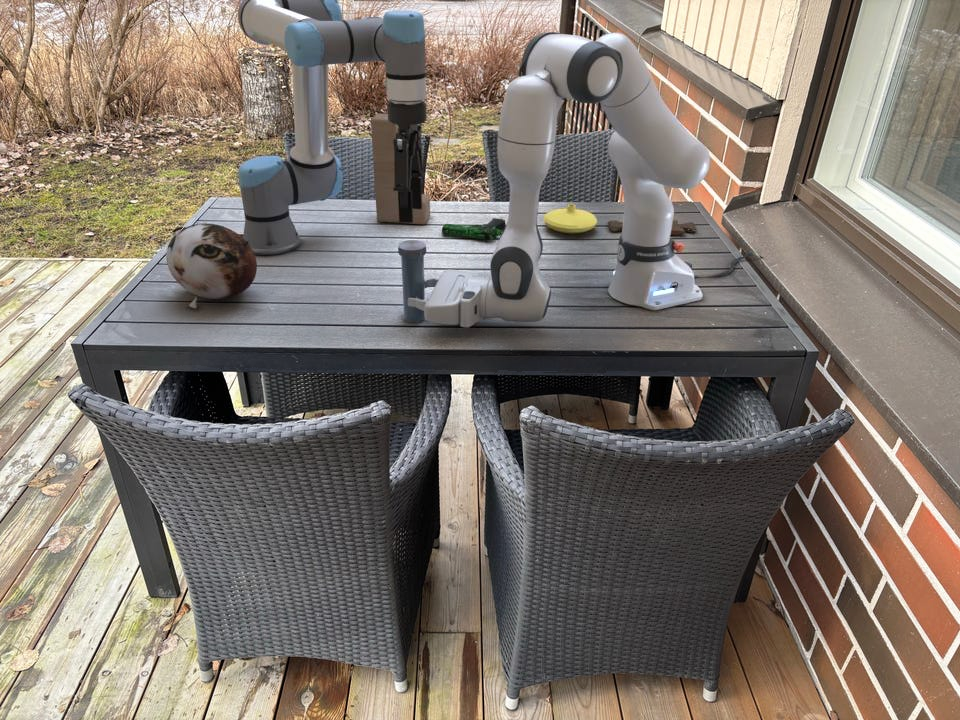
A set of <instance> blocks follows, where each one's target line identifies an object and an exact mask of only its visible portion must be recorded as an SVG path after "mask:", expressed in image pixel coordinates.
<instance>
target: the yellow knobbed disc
mask: <svg viewBox="0 0 960 720" xmlns="http://www.w3.org/2000/svg"><path fill="white" fill-rule="evenodd" d="M543 222H544V225H545V226H546V227H548V228H550V229H551V230H554V231H556V232H559V233H564V234H580V233H584V232H585V233H586V232H587V231H591V230H592V229H594V228H596V226H597V223H598V219H597V217H596V215H595V214H593V213H591V212H589V211H587V210H584V209H578V208H576V205H575V204H571V203H570V204H567V208H557V209H552V210H549V211H548V212H547V213H545V214H544V216H543Z"/></svg>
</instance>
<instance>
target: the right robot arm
mask: <svg viewBox="0 0 960 720" xmlns="http://www.w3.org/2000/svg"><path fill="white" fill-rule="evenodd" d="M564 99H566V100H571V101H576V102H578V103H580V104H587V105H588V104H591V105H592V104H597V103H599V104H600V105H601V108H602V109H603V112H604V113H605V115H606V118H607V119H608V121H609V123H610V125H611V127H612V128H613V130H614V131H613V133H612V135H611V136H610V139H609V142H608V147H607V152H608V157H609V159H610V161H611V163H612V164H613V165H614V167H615V169H616V171H617V174H618V177H619V181H620V184H621V188H622V193H623V194H622V195H623V217H622V223H623V228H622V231H621V234H620V236H619V238H618V239H619V240H618V245H617V254H616V255H617V257H616V259H617V262H616V264H615V265H616V266H615V269H614V271H613V274H612V275H613V276H612V279H611V281H610V284H609V286H608V289H607V293H608V294H609V296H611V297H612V299H615V301H618V302H620V303H623V304H626V305H631V306H636V307H640V308H641V307H642V308H644V309H646V310H650V311H659V310H663V309H667V308H671V307H677V306H680V305H686V304H689V303H694V302H697V301H702V300H703V292H702V289H701V288H700V287H699V286H698V285H697V284H696V283H695V279H716V278H720V277H724V276H726V275H729V274H731V273H732V272H733V271H734V268H735V264H736V263H738V262H739V261H742V260H744V259H746V258H748V257H752V256H754V255H753V254H752V253H753V252H750V253H747V254H744V255H742V256H743V257H741V256H739V257H737V258H735V259H734V260H733V261H732V262H731V265H730V269H728V270H726V271H723V272H720V273H717V274H714V275H709V276H697V275H695V273H694V271H693V264H692V263H690V262H688V261H685V260H683V259H682V258H680V257H679V256H678V255H677V254H676V253H678V254H681V253H683V251H684V250H685V245H684V244H683V243H681V242H680V241H677V242H676V240H674V239H673V238H671V235H672V234H671V229H672V222H673V220H674V215H675V208H674V204H673V202H672V201H671V199H670V197H669V196H668V194H667V192H666V190H665V187H667V188H671V189H679V190H680V189H681V190H683V189H684V190H690V189H694V188H695V187H697V186H698V185H699V184H701V182H702V181H703V180H704V179H705V177H706V176H707V174H708V172H709V169H710V164H711V156H710V151H709V148H707V146H706V145H705V144H703V143H702V142H701V141H699V140H697V138H695V136H693V135H692V134H691V133H690V132H689V131H688V130H687V128H686V127H684V125H683V124H682V123H681V122H680V121H679V119H678V118H677V117H676V116H675V114H674V113H673V112H672V110H670V108H669V107H668V106H667V104H666V103H665V101H664V99H663V98H662V96H661V94H660V92H659V90H658V87H657V85H656V83H655V81H654V78H653V76H652V74H651V72H650V70H649V68H648V65H647V64H646V62H645V60H644V58H643V57H642V54H641V53H640V52H639V50H638V49H637V47H636V46H635V45H634V43H633V41H632V40H631V39H630V38H629V37H628V36H627V35H625V34H624V33H621V32H609V33H606V34H603V35H602V36H600V37H599V38H596V40H592V39H590V38H587V37H584V36H580V35H577V34H567V33H566V34H565V33H559V32H556V31H548V32H543V33H539V34H537V35H535V36H534V37H532V39H530V41H529V42H528V43H527V45H526V47H525V49H524V51H523V54H522V56H521V62H520V66H519V69H518V77H516V78H514V79H513V80H511V82H510V83H509V84H508V85H507V88H506V89H505V94H504V97H503V101H502V105H501V111H500V116H499V123H498V129H497V130H498V131H497V143H496V152H497V163H498V164H497V165H498V171H499V172H500V174H501V175H502V176H503V177H504V178H505V179H506V180H507V182H508V186H509V202H508V214H507V222H506V225H505V228H504V229H503V230H502V231H501V235H500V236H499V237H498V241H497V245H496V247H495V248H494V251H493V253H492V256H491V258H490V263H489V268H490V276H491V277H479V276H475V274H474V273H472V272H468V271H465V270H464V271H463V270H457V269H443V271H442V274H441V275H440V276H435V277H430V278H429V277H428V278H424V281H425V290H426V289H427V288H433V289H432V291H431V293H430V295H429V297H428V298H425V299H423V300H421V299H418V298H417V297H416V296H410V297H409V298H408V300H407V301H408V306H412V307H416V308H418V309H420V310H422V311H424V317H425V319H424V320H426V321H427V322H429V323H432V324H433V323H434V324H439V325H450V326H455V325H459V326H460V327H462V328H470V327H472V326H473V325H474V324H476V323H477V322H478V321H480V320H482V319H485V320H491V319H500V320H503V321H505V322H517V323H534V322H539V321H542V319H544V318H545V316H546V314H547V311H548V308H549V304H550V300H551V298H552V297H551V296H552V289H551V287H550V286H549V285H548V284H547V282H546V280H545V279H544V276H543V275H542V273H541V268H540V266H539V261H540V259H541V258H542V257H541V256H542V254H543V251H544V250H543V249H544V244H543V239H542V236H541V233H540V230H539V228H538V215H539V204H540V193H541V188H542V185H543V182H544V181H545V178H546V177H547V175H548V173H549V170H550V167H551V163H552V160H553V156H554V151H555V146H556V137H557V121H558V119H557V118H558V115H559V112H560V109H561V108H562V105H563V104H564V102H565V100H564ZM675 252H676V253H675Z"/></svg>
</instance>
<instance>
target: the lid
mask: <svg viewBox="0 0 960 720" xmlns="http://www.w3.org/2000/svg"><path fill="white" fill-rule="evenodd" d="M397 247H398V248H397V254H398V255H399V256H400V257H401V256H402V257H405V258H418V257H422V256H424V257H425V255H426V254H427V244H426V243H425V242H424V241H422V240H418V239H417V240H416V239H410V240H409V239H408V240H404V241H401V242H399V243H398V246H397Z"/></svg>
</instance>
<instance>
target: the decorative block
mask: <svg viewBox="0 0 960 720" xmlns="http://www.w3.org/2000/svg"><path fill="white" fill-rule="evenodd" d="M398 128H399V127H398V125H397V124H393V123H391V122H389V120H388V113H376V114H375V115H374V116H373V117H372V118H371V119H370V129H371V148H372V165H373V178H374V179H373V180H374V196H375V210H376V221H377V222H380V223H396V224H407V223H406V222H399V206H398V191H394V190H393V188H394V187H395V168H394V143H393V140H394V139H396V133H398ZM430 217H431V197H430V195H428V194H425V193H422V209H413V222H412V223H409V224H412V225H426V224H427V222H428V220H429V219H430Z"/></svg>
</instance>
